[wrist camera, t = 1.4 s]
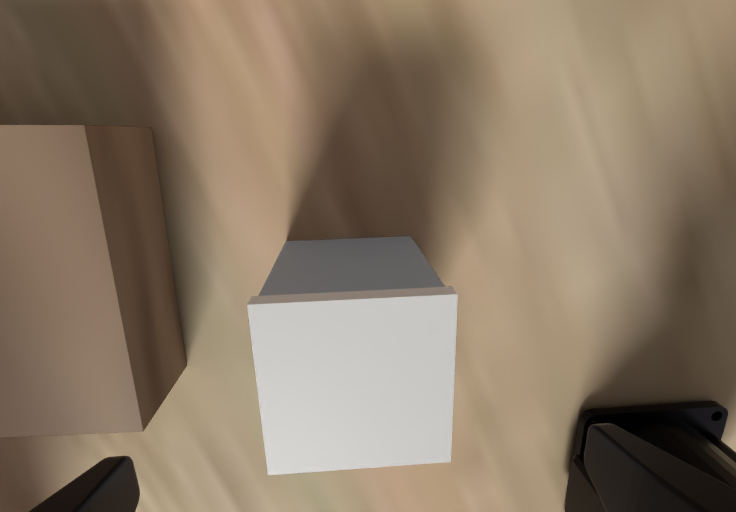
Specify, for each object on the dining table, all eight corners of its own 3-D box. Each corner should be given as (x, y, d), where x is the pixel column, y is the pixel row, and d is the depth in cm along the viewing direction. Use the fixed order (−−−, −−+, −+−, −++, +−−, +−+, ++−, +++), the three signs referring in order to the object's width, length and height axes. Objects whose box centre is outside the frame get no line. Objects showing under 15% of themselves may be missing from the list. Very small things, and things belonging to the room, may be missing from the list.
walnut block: (155, 127, 14) (83, 125, 10) (189, 361, 16) (143, 431, 12) (-130, 127, 13) (-323, 124, 9) (-48, 369, 16) (-172, 445, 12)
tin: (413, 232, 15) (457, 294, 9) (412, 347, 16) (450, 461, 11) (283, 238, 15) (246, 304, 9) (293, 354, 16) (268, 475, 10)
